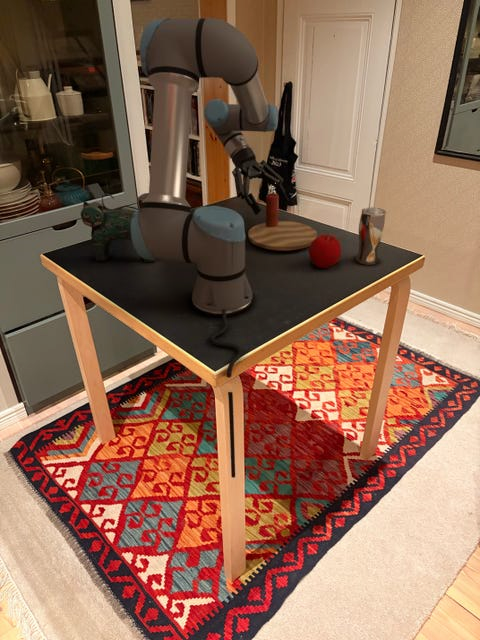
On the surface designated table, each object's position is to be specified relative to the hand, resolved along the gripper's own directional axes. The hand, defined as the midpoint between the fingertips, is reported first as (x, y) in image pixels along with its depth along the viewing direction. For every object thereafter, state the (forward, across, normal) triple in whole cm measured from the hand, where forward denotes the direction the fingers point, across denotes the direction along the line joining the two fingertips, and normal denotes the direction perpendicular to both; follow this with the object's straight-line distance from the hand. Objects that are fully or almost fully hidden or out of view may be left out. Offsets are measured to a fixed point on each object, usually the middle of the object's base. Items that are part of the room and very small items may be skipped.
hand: (273, 207), depth 153 cm
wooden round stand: (+10, -3, 0) cm, 11 cm away
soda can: (-16, -28, +28) cm, 42 cm away
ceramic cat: (-6, -47, +18) cm, 51 cm away
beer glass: (+31, +2, -19) cm, 36 cm away
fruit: (+26, -8, -14) cm, 31 cm away
